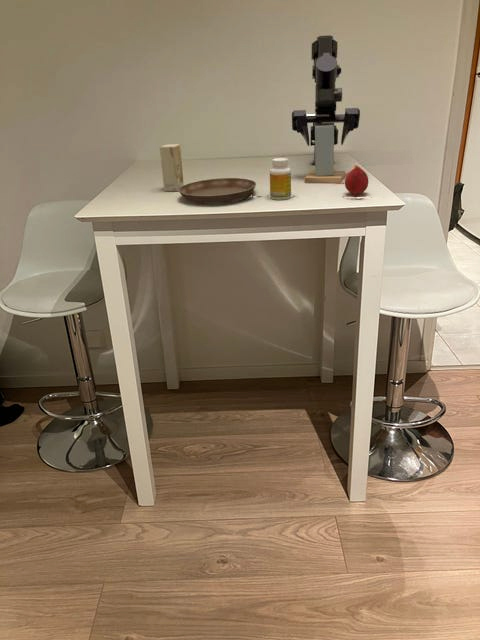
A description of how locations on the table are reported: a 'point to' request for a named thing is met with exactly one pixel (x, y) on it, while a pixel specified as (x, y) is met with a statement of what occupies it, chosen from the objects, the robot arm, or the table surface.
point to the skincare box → (171, 167)
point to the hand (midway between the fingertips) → (325, 144)
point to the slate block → (324, 150)
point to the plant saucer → (217, 190)
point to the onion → (356, 181)
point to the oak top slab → (325, 178)
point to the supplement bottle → (280, 179)
